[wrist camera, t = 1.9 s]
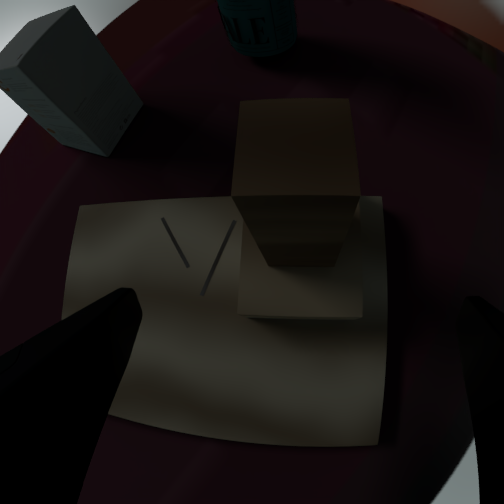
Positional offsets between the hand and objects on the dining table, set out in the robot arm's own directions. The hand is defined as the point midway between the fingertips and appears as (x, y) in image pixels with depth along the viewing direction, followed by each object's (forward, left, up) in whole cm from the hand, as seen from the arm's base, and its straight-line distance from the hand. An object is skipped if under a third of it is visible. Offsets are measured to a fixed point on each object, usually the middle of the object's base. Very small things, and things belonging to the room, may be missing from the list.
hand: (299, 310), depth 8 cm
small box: (+17, +19, -12) cm, 28 cm away
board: (0, +6, -11) cm, 13 cm away
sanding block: (+4, 0, -10) cm, 11 cm away
